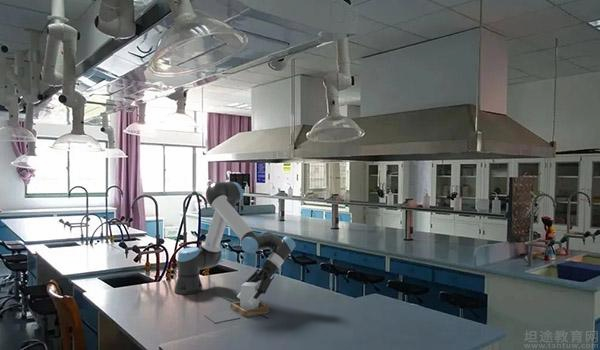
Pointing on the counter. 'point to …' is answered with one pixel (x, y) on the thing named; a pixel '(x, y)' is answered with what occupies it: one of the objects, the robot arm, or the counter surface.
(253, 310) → the crate
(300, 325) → the counter surface
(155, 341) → the counter surface
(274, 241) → the robot arm
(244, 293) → the supplement box
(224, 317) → the mat
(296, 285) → the counter surface
